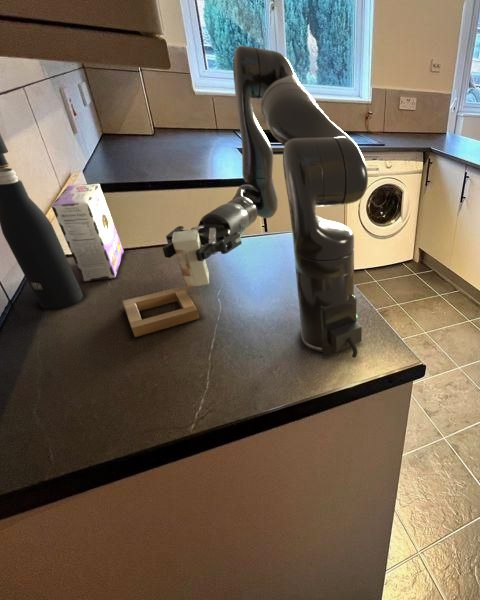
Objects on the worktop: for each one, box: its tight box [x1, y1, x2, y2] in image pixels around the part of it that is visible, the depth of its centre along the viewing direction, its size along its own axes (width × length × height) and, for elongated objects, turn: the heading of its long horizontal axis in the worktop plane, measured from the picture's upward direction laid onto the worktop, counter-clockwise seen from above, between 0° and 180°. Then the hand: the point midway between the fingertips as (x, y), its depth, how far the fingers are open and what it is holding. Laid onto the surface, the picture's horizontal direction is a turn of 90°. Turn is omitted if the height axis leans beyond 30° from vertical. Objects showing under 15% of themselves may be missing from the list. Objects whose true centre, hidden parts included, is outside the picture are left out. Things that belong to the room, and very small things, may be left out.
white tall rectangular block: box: [172, 229, 210, 288], centre depth 75 cm, size 5×4×10 cm
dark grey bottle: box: [0, 133, 84, 310], centre depth 64 cm, size 6×6×30 cm
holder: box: [122, 285, 200, 338], centre depth 70 cm, size 10×10×2 cm
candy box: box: [50, 183, 125, 282], centre depth 80 cm, size 14×6×16 cm, turn 25°
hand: (182, 254), depth 72 cm, fingers closed on white tall rectangular block, 6 cm apart
